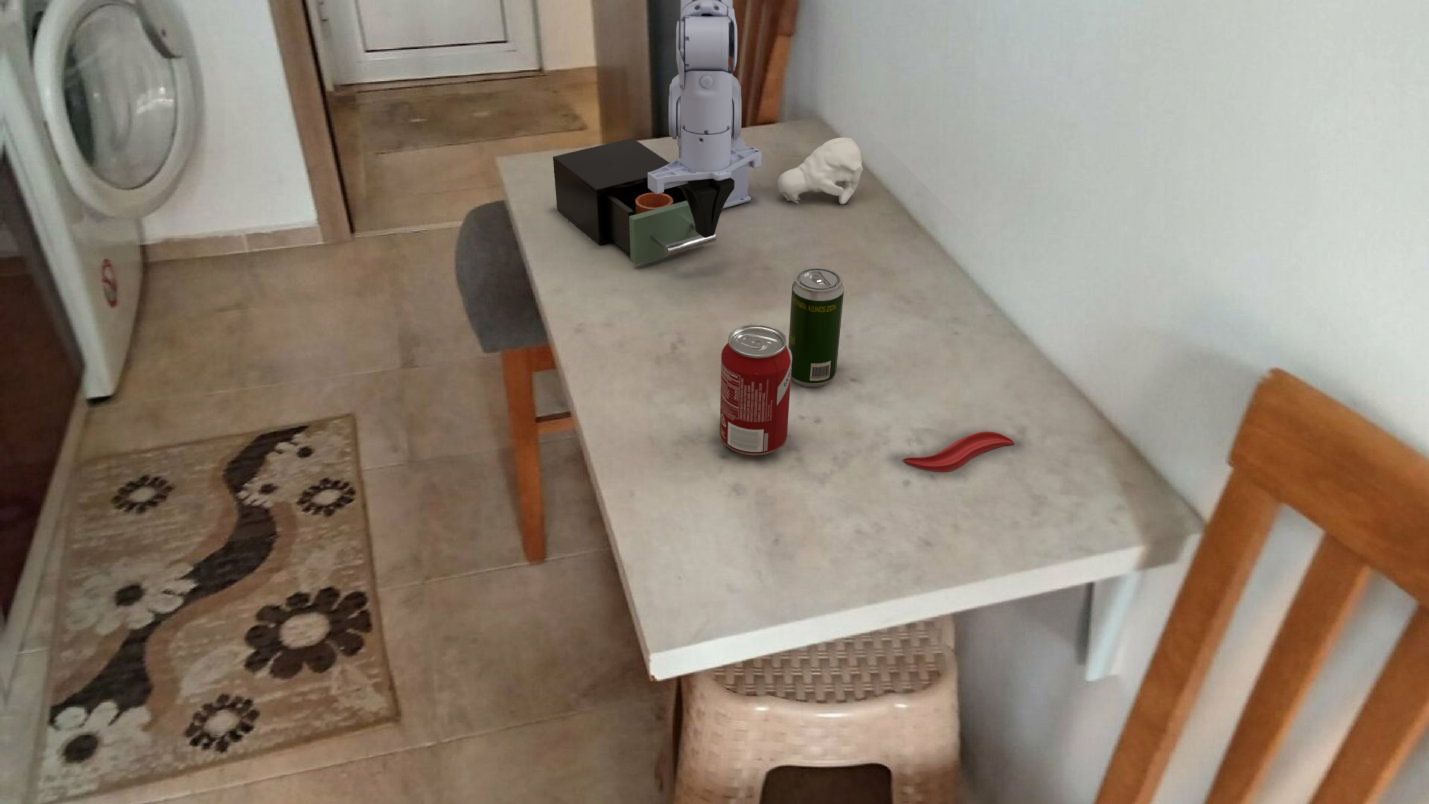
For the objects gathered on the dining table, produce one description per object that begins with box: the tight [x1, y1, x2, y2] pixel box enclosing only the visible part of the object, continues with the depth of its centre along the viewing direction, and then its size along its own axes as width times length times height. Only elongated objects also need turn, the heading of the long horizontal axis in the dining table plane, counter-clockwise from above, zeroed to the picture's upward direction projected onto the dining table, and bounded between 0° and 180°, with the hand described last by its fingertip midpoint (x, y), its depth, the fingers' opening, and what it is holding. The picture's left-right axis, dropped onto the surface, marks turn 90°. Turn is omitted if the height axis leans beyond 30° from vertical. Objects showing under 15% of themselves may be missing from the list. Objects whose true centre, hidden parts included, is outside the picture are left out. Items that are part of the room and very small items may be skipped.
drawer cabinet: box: [552, 137, 671, 246], centre depth 146 cm, size 12×12×8 cm
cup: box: [635, 192, 673, 214], centre depth 139 cm, size 5×5×5 cm
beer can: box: [787, 267, 845, 388], centre depth 114 cm, size 5×5×12 cm
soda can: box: [719, 323, 792, 456], centre depth 105 cm, size 7×7×12 cm
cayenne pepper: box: [902, 430, 1016, 473], centre depth 106 cm, size 12×5×2 cm, turn 99°
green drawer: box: [601, 181, 717, 266], centre depth 138 cm, size 16×11×6 cm
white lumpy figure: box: [777, 137, 864, 205], centre depth 151 cm, size 6×8×12 cm
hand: (705, 233), depth 129 cm, fingers closed
